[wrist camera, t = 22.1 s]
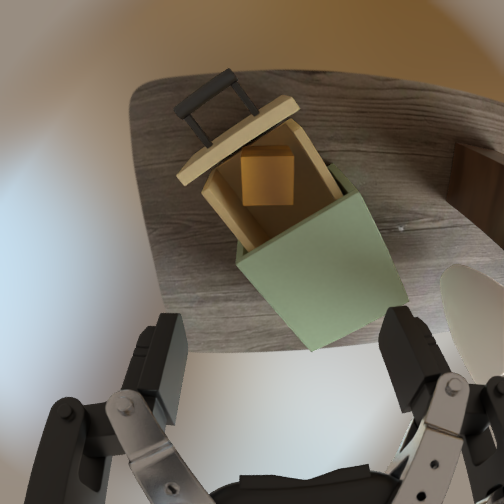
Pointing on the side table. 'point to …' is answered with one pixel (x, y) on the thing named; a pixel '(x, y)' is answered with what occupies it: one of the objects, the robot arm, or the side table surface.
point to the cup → (475, 320)
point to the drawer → (229, 172)
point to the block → (267, 175)
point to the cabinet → (327, 270)
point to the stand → (479, 188)
